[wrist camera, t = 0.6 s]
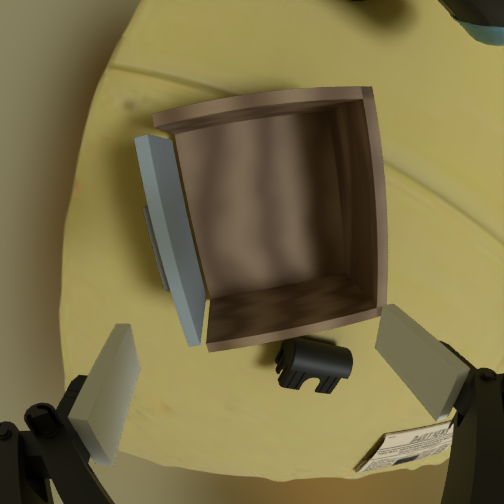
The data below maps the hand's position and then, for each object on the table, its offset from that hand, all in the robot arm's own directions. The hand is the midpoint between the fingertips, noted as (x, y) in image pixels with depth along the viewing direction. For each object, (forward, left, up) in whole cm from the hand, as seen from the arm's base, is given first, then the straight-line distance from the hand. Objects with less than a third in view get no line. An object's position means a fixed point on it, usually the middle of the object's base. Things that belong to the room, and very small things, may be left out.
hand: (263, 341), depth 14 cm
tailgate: (+6, -2, -23) cm, 24 cm away
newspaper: (-39, +71, -26) cm, 85 cm away
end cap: (-7, +22, -25) cm, 34 cm away
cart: (-4, -2, -25) cm, 25 cm away
